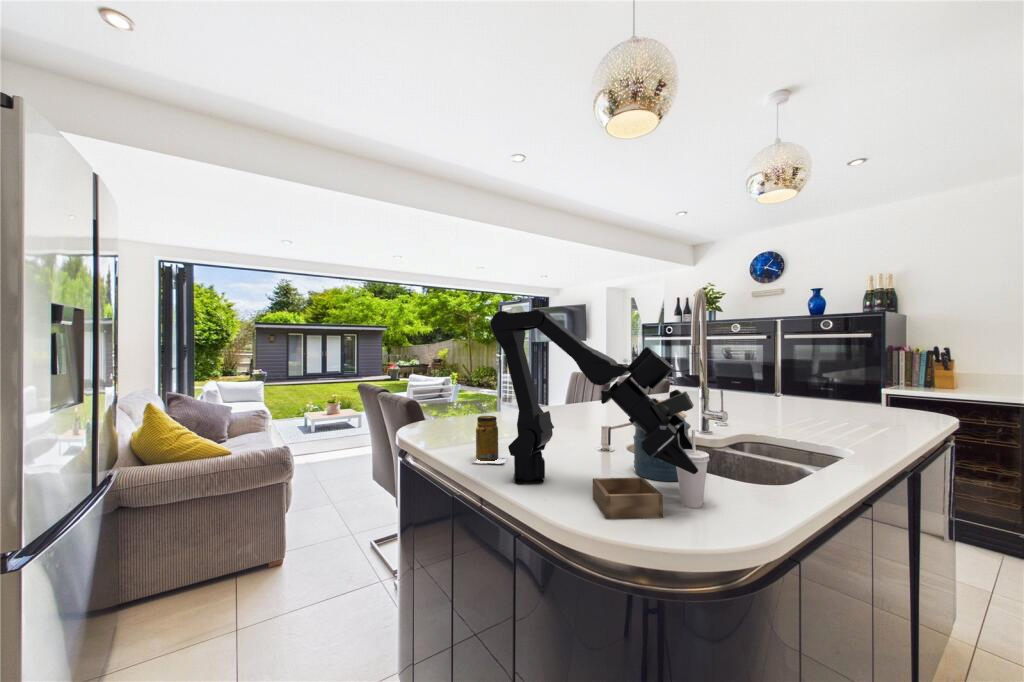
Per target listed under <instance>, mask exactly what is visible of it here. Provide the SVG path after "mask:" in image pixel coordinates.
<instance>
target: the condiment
mask: <svg viewBox="0 0 1024 682" xmlns="http://www.w3.org/2000/svg"><path fill="white" fill-rule="evenodd" d="M497 418H498V417H496V416H495V415H480V416H477V418H476V420H477V422H476V425H477V426H476V427H475V436H476V437H475V448H476V449H475V457H476V459H478V460H480V461H495V460H497V459H498V458H499V426H498V422H497ZM476 459H475V460H476Z"/></svg>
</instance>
